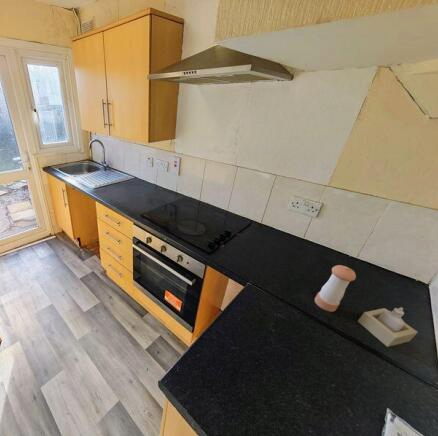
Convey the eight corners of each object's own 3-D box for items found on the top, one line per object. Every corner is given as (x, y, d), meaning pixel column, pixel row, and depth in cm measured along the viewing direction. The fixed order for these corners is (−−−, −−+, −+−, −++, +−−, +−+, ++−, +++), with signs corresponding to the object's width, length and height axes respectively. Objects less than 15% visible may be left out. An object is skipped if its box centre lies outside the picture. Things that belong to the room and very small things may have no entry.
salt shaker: (334, 315, 86) (359, 277, 77) (312, 304, 91) (333, 267, 81) (337, 303, 91) (360, 267, 82) (316, 294, 95) (336, 258, 86)
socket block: (377, 316, 86) (384, 308, 84) (409, 341, 78) (418, 332, 75) (357, 321, 84) (364, 312, 82) (387, 347, 76) (395, 337, 73)
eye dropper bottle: (385, 326, 83) (405, 303, 77) (394, 340, 78) (415, 317, 72) (371, 322, 84) (389, 300, 78) (378, 335, 79) (398, 312, 74)
